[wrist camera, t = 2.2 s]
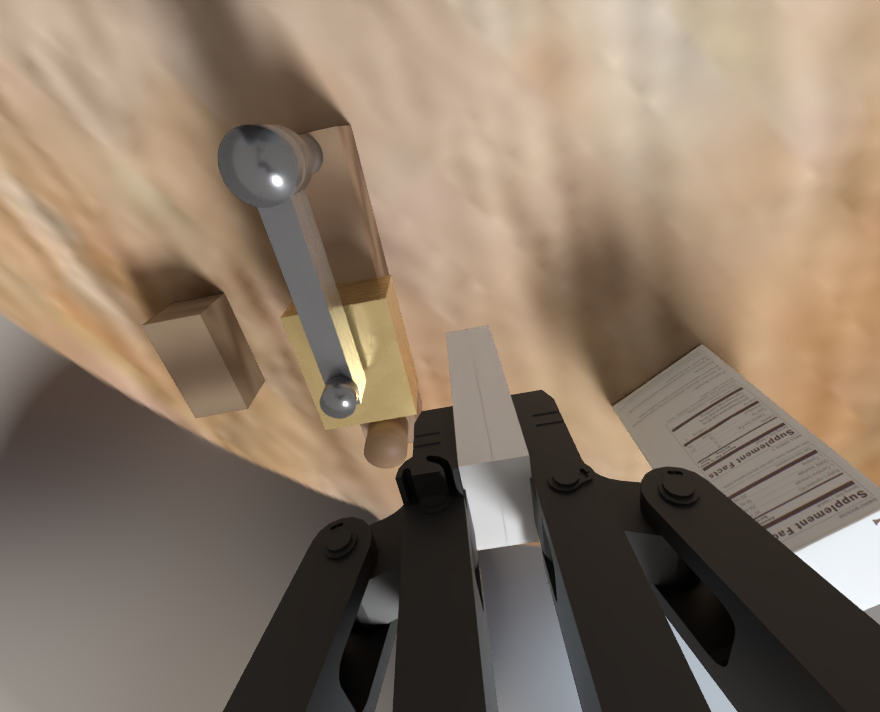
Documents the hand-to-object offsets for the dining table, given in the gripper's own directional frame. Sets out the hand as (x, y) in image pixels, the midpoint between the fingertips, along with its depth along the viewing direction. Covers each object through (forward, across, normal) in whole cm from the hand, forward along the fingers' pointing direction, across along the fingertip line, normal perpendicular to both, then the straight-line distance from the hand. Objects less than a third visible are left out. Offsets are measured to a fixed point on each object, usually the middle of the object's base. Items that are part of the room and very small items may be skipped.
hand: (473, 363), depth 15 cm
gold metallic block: (+13, -7, -4) cm, 15 cm away
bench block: (+18, -20, -4) cm, 27 cm away
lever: (+8, -7, +2) cm, 11 cm away
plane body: (+18, -7, -2) cm, 19 cm away
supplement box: (+18, +18, -18) cm, 32 cm away
